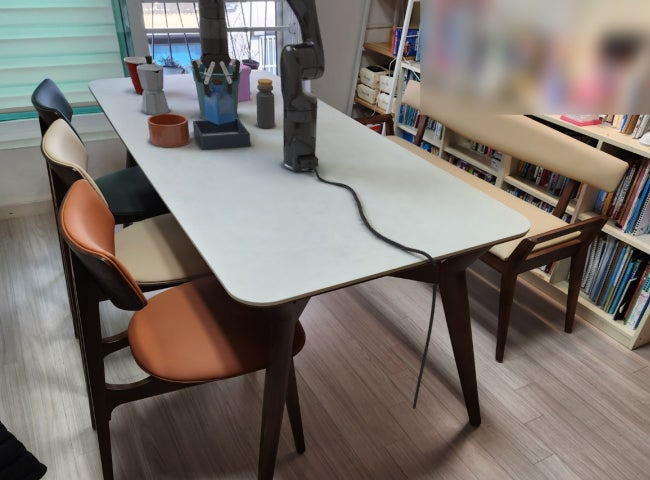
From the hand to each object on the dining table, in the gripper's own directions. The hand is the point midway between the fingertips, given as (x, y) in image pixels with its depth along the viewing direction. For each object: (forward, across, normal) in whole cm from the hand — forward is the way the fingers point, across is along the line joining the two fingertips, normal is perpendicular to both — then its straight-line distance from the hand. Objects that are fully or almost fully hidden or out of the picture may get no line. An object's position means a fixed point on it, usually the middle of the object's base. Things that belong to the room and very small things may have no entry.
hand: (218, 95), depth 157 cm
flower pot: (+13, +4, +22) cm, 26 cm away
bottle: (+14, +17, +10) cm, 24 cm away
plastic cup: (+13, -17, +55) cm, 59 cm away
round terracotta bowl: (+13, -15, +3) cm, 20 cm away
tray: (+14, 0, 0) cm, 14 cm away
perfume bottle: (+7, 0, 0) cm, 7 cm away
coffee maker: (+13, -16, +33) cm, 39 cm away
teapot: (+13, +10, +45) cm, 48 cm away
